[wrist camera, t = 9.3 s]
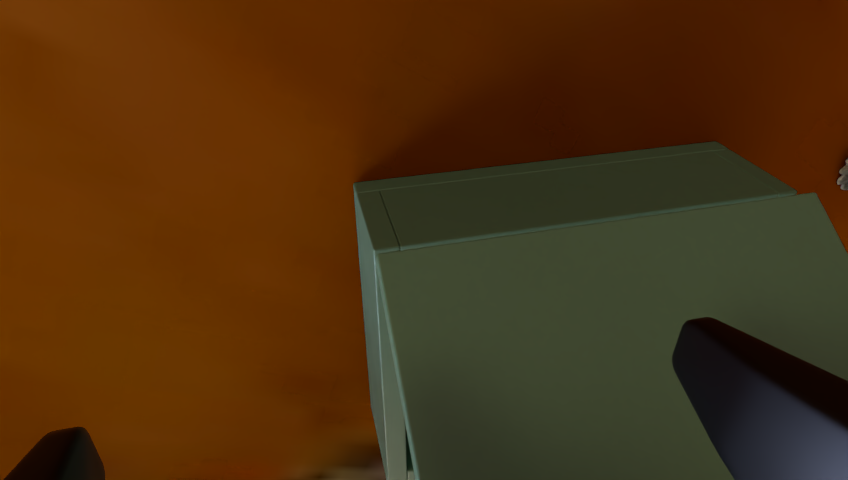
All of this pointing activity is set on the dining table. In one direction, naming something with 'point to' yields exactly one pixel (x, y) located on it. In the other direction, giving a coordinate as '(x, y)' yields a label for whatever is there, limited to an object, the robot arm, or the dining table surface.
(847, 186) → the eagle figurine
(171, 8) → the dining table surface
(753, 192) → the keepsake box
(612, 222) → the box lid
